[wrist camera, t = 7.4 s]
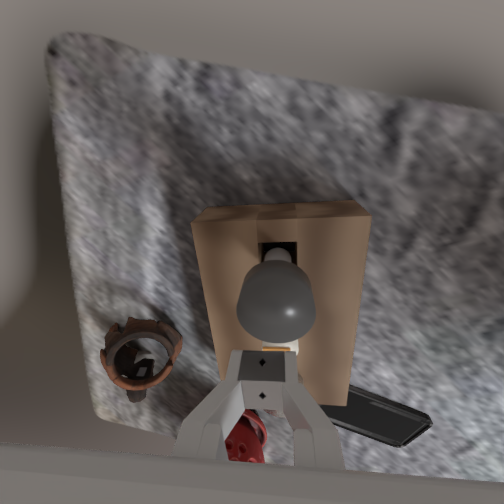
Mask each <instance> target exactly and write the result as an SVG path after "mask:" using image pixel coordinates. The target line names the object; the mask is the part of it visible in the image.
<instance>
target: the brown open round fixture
mask: <svg viewBox="0 0 504 504" xmlns="http://www.w3.org/2000/svg"><path fill="white" fill-rule="evenodd" d="M117 329H118V323H115V324H114V325H113V326H112V327H111V328H110V329H109V332H108V333H107V334H106V336H105V347H106V348H105V349H104V350H103V349H101V351H100V359H101V363H102V365H103V367H104V369H105V370H106V372H107V374H108V376H109V378H110V379H111V380H112V381H113V383H114V384H116V385H117V386H119V387H121V388H123V389H126V391H127V396H128V398H129V400H130V401H131V402H133V403H135V402H139V401H141V400H143V399H144V398H145V397H146V391H147V388H150V387H152V386H154V385H156V384H158V383H160V382H161V381H162V380H163V379H165V378H166V377H167V375H169V373H170V371H171V370H172V368H173V364H174V362H175V360H176V357H177V356H178V354H179V353H180V352H181V349H182V336H180V334H179V333H178V332H177V331H176V330H175V329H173V328H172V327H171V326H169V325H168V324H166V323H164V322H163V321H158V322H157V323H156V321H155V320H152V319H148V320H138V319H134V318H133V317H129V318H128V321H127V324H126V326H125V330H124V332H123V333H122V334H121V333H120V332H118V331H117ZM138 338H151V339H155V340H156V341H158V342H160V343H161V344H162V345H163V346H164V347H165V348H166V350H167V353H168V356H169V357H170V358H169V360H168V362H167V363H166V365H165V367H164V368H163V369H162V370H161V371H160V372H159V373H158V374H156V375H155V376H153V368H154V362H155V361H154V359H146V358H144V359H142V360H141V361H139V362H137V363H135V364H134V361H135V359H136V355H137V353H138V350H137V349H133V348H130V347H128V346H126V345H125V343H126V342H128V341H131V340H134V339H138ZM121 375H125V376H127V377H128V378H125V377H123V376H121Z"/></svg>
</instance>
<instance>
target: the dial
mask: <svg viewBox="0 0 504 504" xmlns="http://www.w3.org/2000/svg"><path fill="white" fill-rule="evenodd" d="M262 351H284V352H285V351H296V356H297V354H298V352H299V347H298V339H297V340H295V341H292V342H287V343H269V342H265V341H262Z"/></svg>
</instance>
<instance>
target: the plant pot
mask: <svg viewBox="0 0 504 504" xmlns="http://www.w3.org/2000/svg"><path fill="white" fill-rule="evenodd" d="M266 440H267V433H266V429H265V426H264V424H263V422H262V421H261V419H260V418H259V417H258V416H257V415H256V414H255V413H254V412H252V411H251V410H249V409H245V411H244V412H243V414H242V415H241V417H240V418H239V420H238V421H237V423H236V424H235V426H234V427H233V429H232V430H231V432H230V433H229V435H228V436H227V438H226V439H225V441H224V442H225V446H226V451H227V455H228V459H229V461H240V462H252V463H265V462H264V455H263V451H262V447H263V446H264V445H265V443H266Z"/></svg>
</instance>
